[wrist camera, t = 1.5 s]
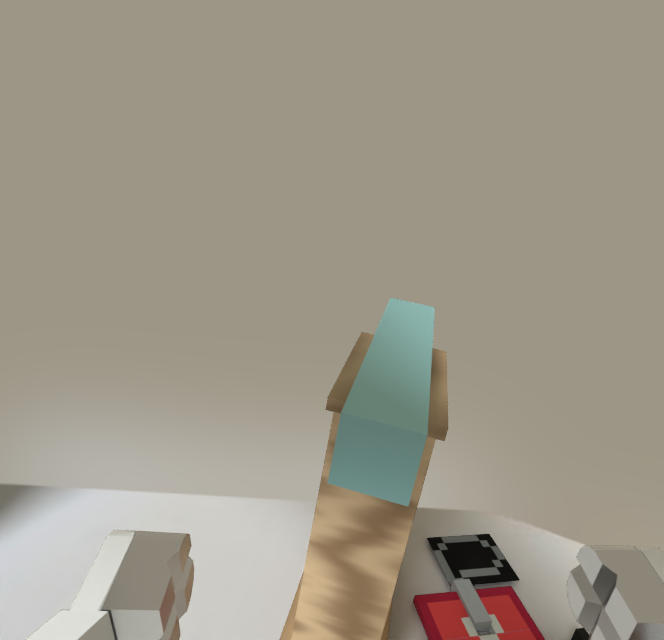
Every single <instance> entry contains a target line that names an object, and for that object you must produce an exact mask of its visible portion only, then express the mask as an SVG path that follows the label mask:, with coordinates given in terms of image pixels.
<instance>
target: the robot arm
mask: <svg viewBox="0 0 664 640" xmlns="http://www.w3.org/2000/svg"><path fill="white" fill-rule="evenodd" d="M190 548H191V540H190V534H183V533H166V532H149V531H128V530H113V531H112V532H111V533H110V534H109V535H108V536H107V537H106V539H105V541H104V543H103V545H102V547H101V549H100V551H99V553H98V555H97V557H96V559H95V561H94V563H93V565H92V567H91V569H90V571H89V573H88V575H87V576H86V578H85V580H84V582H83V584H82V586H81V588H80V590H79V592H78V594H77V596H76V598H75V600H74V602H73V604H72V606H71V608H70V610H61V611H59V612H58V613H57V614H56V615H55V616H53V617H52V618H51V619H50V620H48V621H47V622H46V623H45V624H44V625H42V626H41V627H40V628H39V629H37V630H36V631H35V632H34V633H33V634H31V635H30V636H29V637H28V638H27V639H25V640H179V638H180V627H179V619H180V618H181V617H182V616H183V615H184V614H185V613H186V612H187V609H188V605H189V601H190V598H191V592H192V586H193V579H194V565H193V560H192V559H191V558H190V557H189V556H188V555H189V551H190ZM577 559H578V561H579V563H580V565H579V566H577V567H576V568H575V569H573V570H572V571H570V574H569V577H568V580H567V597H568V600H569V604H570V607H571V610H572V612H573V614H574V616H575V618H576V621H577V622H578V623H579V624H580V625H582V626H583V627H584V628H585V629H586V630H587V631H588V632H589V633H590V635H589V640H664V551H663V550H661V549H660V548H659V547H640V546H634V547H631V546H621V545H585V546H583V547H582V548H580V550H579V552H578V554H577Z"/></svg>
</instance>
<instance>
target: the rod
mask: <svg viewBox="0 0 664 640" xmlns="http://www.w3.org/2000/svg"><path fill="white" fill-rule="evenodd" d="M434 309H435V308H434V307H431V306H426V305H421V304H417V303H412V302H408V301H403V300H399V299H394V298H390V300H389V303H388V305H387V307H386V310H385V312H384V314H383V316H382V319H381V321H380V323H379V326H378V328H377V330H376V333H375V335H374V337H373V340H372V342H371V344H370V346H369V349H368V351H367V353H366V356H365V358H364V360H363V363H362V365H361V367H360V370H359V372H358V374H357V377H356V379H355V381H354V384H353V386H352V388H351V390H350V393H349V395H348V397H347V400H346V402H345V404H344V407H343V409H342V411H341V415H340V421H339V426H338V431H337V436H336V441H335V447H334V452H333V457H332V462H331V467H330V472H329V478H328V484H332V485H335V486H339V487H342V488H346V489H349V490H352V491H356V492H359V493H363V494H366V495H370V496H373V497H377V498H380V499H383V500H387V501H390V502H394V503H397V504H401V505H404V506H409V502H410V499H411V495H412V491H413V487H414V484H415V480H416V476H417V472H418V469H419V465H420V461H421V457H422V454H423V450H424V446H425V442H426V439H427V435H428V417H429V399H430V382H431V364H432V344H433V328H434Z"/></svg>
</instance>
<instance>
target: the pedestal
mask: <svg viewBox="0 0 664 640" xmlns="http://www.w3.org/2000/svg"><path fill="white" fill-rule="evenodd" d="M373 337H374V335H373V334H369V333H364V332H362V333H361V335H360V337H359V338H358V340H357V342H356V344H355V346H354V348H353V350H352V352H351V354H350V356H349V358H348V359H347V362H346V363H345V365H344V367H343V369H342V371H341V373H340V375H339V377H338V379H337V381H336V382H335V385H334V386H333V389H332V390H331V392H330V394H329V396H328V400H327V406H326V410H329V411H333V412H334V413H333V418H332V424H331V429H330V435H329V440H328V445H327V451H326V456H325V461H324V467H323V472H322V477H321V483H320V489H319V494H318V499H317V504H316V509H315V515H314V520H313V525H312V531H311V536H310V541H309V547H308V552H307V557H306V563H305V568H304V572H303V575H302V577H301V580H300V583H299V586H298V589H297V592H296V594H295V597H294V600H293V603H292V606H291V609H290V611H289V614H288V617H287V620H286V623H285V626H284V629H283V631H282V634H281V637H280V640H388V632H389V623H390V615H391V606H392V598H393V593H394V589H395V585H396V582H397V578H398V574H399V571H400V567H401V564H402V560H403V556H404V553H405V549H406V545H407V542H408V538H409V534H410V531H411V527H412V524H413V520H414V516H415V513H416V509H417V505H418V502H419V498H420V494H421V490H422V487H423V484H424V480H425V476H426V473H427V469H428V465H429V462H430V458H431V454H432V451H433V447H434V444H435V440H436V439H439V440H442V441H445V437H446V434H447V430H448V401H447V400H448V399H447V361H446V351H441V350H437V349H433V348H432V364H431V382H430V399H429V417H428V435H427V439H426V442H425V446H424V450H423V454H422V457H421V461H420V465H419V469H418V472H417V476H416V480H415V484H414V487H413V491H412V495H411V499H410V502H409V506H404V505H401V504H397V503H394V502H390V501H387V500H383V499H380V498H377V497H373V496H370V495H366V494H363V493H359V492H356V491H352V490H349V489H346V488H342V487H339V486H335V485H332V484H328V478H329V472H330V467H331V462H332V457H333V452H334V447H335V441H336V436H337V431H338V426H339V421H340V415H341V411H342V409H343V407H344V404H345V402H346V400H347V397H348V395H349V393H350V390H351V388H352V386H353V384H354V381H355V379H356V377H357V374H358V372H359V370H360V367H361V365H362V363H363V360H364V358H365V356H366V353H367V351H368V349H369V346H370V344H371V342H372V340H373Z"/></svg>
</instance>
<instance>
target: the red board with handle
mask: <svg viewBox="0 0 664 640" xmlns="http://www.w3.org/2000/svg"><path fill="white" fill-rule="evenodd" d="M427 539H428V541H429V543H430V545H431V547H432V549H433V551H434V553H435V555H436V557H437V559H438V561H439V563H440V565H441V567H442V569H443V571H444V573H445V575H446V577H447V579H448V581H449V583H450V585H451V589H450V591H451V592H446V593H436V594H425V595H415V597H414V600H413V602H414V605H415V607H416V610H417V612H418V615H419V617H420V619H421V622H422V624H423V627H424V629H425V632H426V634H427V636H428V639H429V640H545V639H544V637H543V636H542V634H541V633H540V631H539V629H538V628H537V626H536V625H535V623H534V621H533V620H532V618H531V617H530V615H529V614H528V612H527V610H526V609H525V607H524V606H523V604H522V603H521V601H520V599H519V598H518V596H517V595H516V593H515V592H514V590H513V588H512V587H511V586H507V587H497V588H486V589H476V590H475V589H474V587H473V585H475V584H486V583H496V582H507V581H517V580H519V578H518V577H517V575H516V574H515V572H514V571H513V569H512V568H511V566H510V565H509V563H508V562H507V560H506V559H505V557H504V556H503V554H502V553H501V551H500V550H499V548H498V546H497V545H496V543H495V542H494V540H493V539H492V537H491V536H490V534H479V535H464V536H449V537H433V538H427ZM482 631H489V633H490V634H488V635H480V636H479V635H478V633H477V632H482ZM571 640H589V634H588V633H587V631H586V630H585V628H580V629H576V630H575V632H574V635H573V637H572V639H571Z"/></svg>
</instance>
